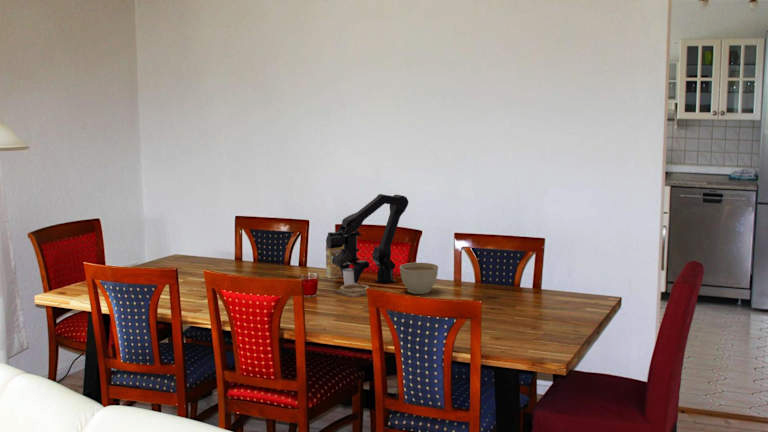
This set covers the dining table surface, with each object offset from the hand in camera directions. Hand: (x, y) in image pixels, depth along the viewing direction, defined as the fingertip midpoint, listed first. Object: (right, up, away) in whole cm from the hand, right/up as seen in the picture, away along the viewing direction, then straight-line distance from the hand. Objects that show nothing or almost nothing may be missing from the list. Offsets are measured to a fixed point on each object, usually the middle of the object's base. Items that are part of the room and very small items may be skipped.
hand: (350, 281), depth 356 cm
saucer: (+2, -4, -14) cm, 14 cm away
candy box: (-7, +1, +17) cm, 18 cm away
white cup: (0, -2, 0) cm, 2 cm away
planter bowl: (+29, -3, -12) cm, 32 cm away
